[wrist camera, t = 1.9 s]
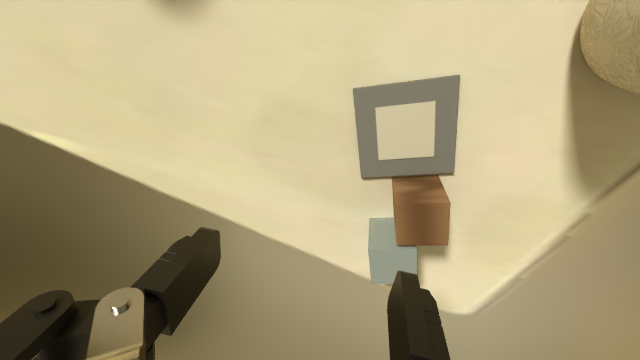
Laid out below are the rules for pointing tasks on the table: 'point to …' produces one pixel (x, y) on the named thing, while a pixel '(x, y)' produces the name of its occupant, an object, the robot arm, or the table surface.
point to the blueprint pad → (407, 127)
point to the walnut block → (420, 211)
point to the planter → (613, 41)
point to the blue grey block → (388, 252)
